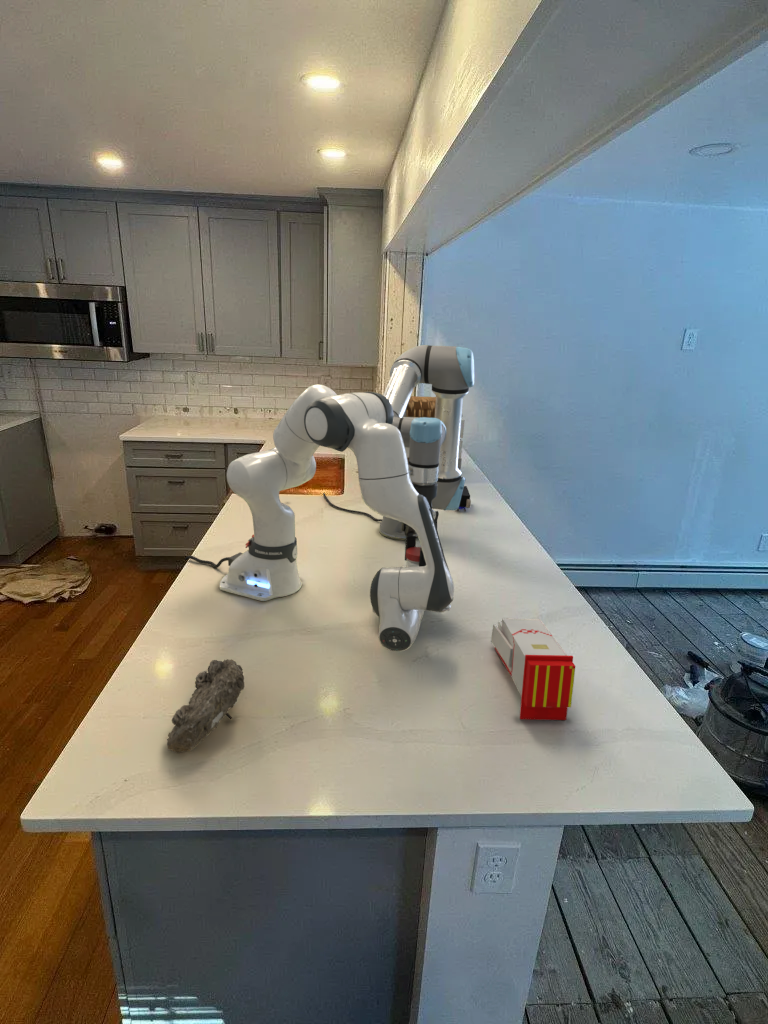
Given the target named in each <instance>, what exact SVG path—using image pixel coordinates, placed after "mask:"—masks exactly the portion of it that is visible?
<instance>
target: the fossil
mask: <svg viewBox="0 0 768 1024" xmlns="http://www.w3.org/2000/svg"><path fill="white" fill-rule="evenodd" d="M243 670H244V669H243V667H242V665H240V664H237V662H236V661H235V660H234V659H232V658H231V659H227V658H226V659H224V660H223V661H222V660H217V659H212V660H211V661H210V663H209V665H208V666H207V671H201V672H199V673H198V674H197V675H196V676H195V680H194V684H195V685H194V687H195V689H194V690H193V693H192V694H191V697H190V698H189V700H188V704H184V705H182V706H181V707H180V709H177V710H176V711H175V713H174V715H173V716H172V718H171V723H172V724H173V727H172V730H171V731H170V732H168V734H167V738H166V741H167V742H166V745H167V749H168V750H169V751H173V752H174V753H176V754H178V753H182V752H188V751H189V752H192V751H193V750H195V748H196V747H197V746H199V744H200V743H201V742H203V741H204V740H205V739H206V738H207V737H208V736H209V735H210V734H211V733H212V732H214V730H215V729H217V727H218V726H219V724H220V722H221V721H222V720H223V719H224V718H225V716H226V717H227V719H229V720H233V717H232V715H230V714H229V710H230V709H231V708H234V706H235V704H236V703H237V702H238V699H239V697H240V695H241V693H242V691H243V690H245V689H244V688H245V675H244V671H243Z"/></svg>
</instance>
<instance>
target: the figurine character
mask: <svg viewBox="0 0 768 1024" xmlns="http://www.w3.org/2000/svg"><path fill="white" fill-rule="evenodd" d="M471 501H472V500H471V494H470V491H469V488H468V486H467V485H464V488H463V492H462V496H461V500H460V504H459V508H458V509H457V510H456V511H457V512H460V510H463V511H464V513H466V512H467V509H470V508H471V505H472V504H471ZM466 508H467V509H466Z"/></svg>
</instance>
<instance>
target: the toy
mask: <svg viewBox="0 0 768 1024" xmlns="http://www.w3.org/2000/svg"><path fill="white" fill-rule="evenodd" d="M490 638H491V639H490V642H491V644H492V646H493V647H494V650H495V652H496V654H497V655H498V657H499V659H500V660H501V662H502V664H503V666H504V667H505V669H506V671H507V672H508V674H509V676H510V677H511V679H512V681H513V683H514V685H515V688H516V690H517V691H518V693H519V695H520V697H521V698H520V710H519V719H520V720H534V721H535V720H539V721H567V716H568V708H572V701H573V692H574V684H575V674H576V673H575V672H576V665H575V663H574V656H573V655H568V654H567V653H566V652H565V650H564V649H563V648H562V646H561V645H560V644H559V643H558V641H557V640H556V639H555V637H554V636H553V634H552V633H551V632H550V631H549V629H548V628H547V626H546V624H545V623H543V621H542V620H541V619H540V618H505V617H503V618H501V620H498V622H497V624H495V623H493V624H492V632H491V637H490Z"/></svg>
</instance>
